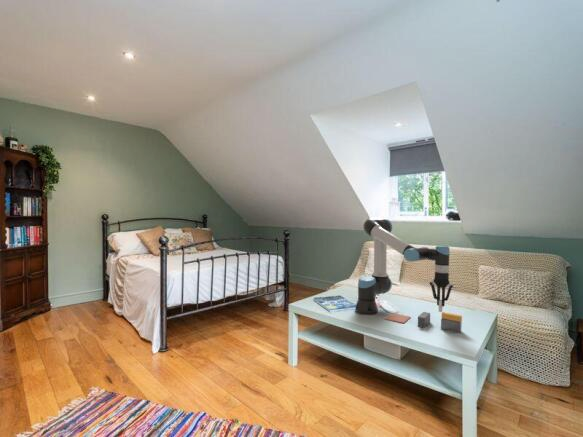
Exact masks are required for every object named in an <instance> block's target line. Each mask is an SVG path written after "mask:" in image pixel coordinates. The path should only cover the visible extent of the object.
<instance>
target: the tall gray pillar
mask: <svg viewBox="0 0 583 437" xmlns="http://www.w3.org/2000/svg"><path fill="white" fill-rule="evenodd" d="M430 323H431V312H426V311H423V312H421V314H419V315H418V316H417V327H419V328H426V327H427V326H428V325H429V324H430Z"/></svg>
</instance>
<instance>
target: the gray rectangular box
mask: <svg viewBox="0 0 583 437" xmlns="http://www.w3.org/2000/svg"><path fill="white" fill-rule="evenodd" d="M462 321H463V320H462ZM462 321H461V322H458V321H453V320H448V319H443V318H442V317H441V319H440V330H444V331H448V332H453V333H456V334H457V333H458V334H461V333H462V327H463V326H462V323H463V322H462Z"/></svg>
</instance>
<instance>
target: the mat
mask: <svg viewBox="0 0 583 437" xmlns="http://www.w3.org/2000/svg"><path fill="white" fill-rule="evenodd" d="M410 319H412V318H411V316H408V315H404V314H400V313H395V312H392V313H391V314H389V315H388V316H386V317H385V318H384V320H385V321H390V322H396V323H399V324H405V323H407V322H408V321H409V320H410Z"/></svg>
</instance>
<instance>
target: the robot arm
mask: <svg viewBox="0 0 583 437" xmlns="http://www.w3.org/2000/svg"><path fill="white" fill-rule="evenodd" d="M363 231H364V232H365V233H366V234H367V235H368V236H369V237H371V238H373V240H374V241H373V272H372V273H371V275H368V276H362V277H360V278H359V279H358V283H357V302H356V304H355V309H354V310H355V312H356V313H358V314H360V315H364V316H365V315H367V316H369V315H370V316H372V315H377V314H378V313H379V309H378V306H377V302H376V296H377V295H382V294H383V295H384V294H386V293H389V292H390V291H391V290H392V287H393V286H392V285H393V284H392V282H393V281H392V280H391V278H390V277H389V274H388V273H387V247H389V248H391V249H392V250H394V251H396V252H398V253H399V254H401V255H403V257H404V259H405V260H406V261H407V262H409V263H410V262H411V263H414V262H420V261H426V260H427V261H432V262H433V261H434V278H433V280H432V281H430V282H429V285H430V287H431V291H432V298H433V299H435V300H436V306H438V312H439V313H442V312H443V307H445V305H446V304H445V303H446V302H445V301H447V302H448V300H449V297H450V295H451V291H452V289H453V288H454V286H455V285H454V284H452V283H450V281H449V280H450V279H449V278H450V274H449V272H450V254H451V253H450V247H449V246H448V245H440V244H438V245H435V247H426V246H418V247H415V246H413V245H411V244H409V243H407V242H406V241H404V240H403V239H401V238H400V237H398V236H396V235H394V234H393V233H392V231H393V224H392V222H391V221H390V219H388V218H385V217H370V218H367V219H366V220H365V221H364V222H363ZM435 286H436V287H435ZM447 287H448V288H447ZM446 288H447V291H446Z"/></svg>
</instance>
